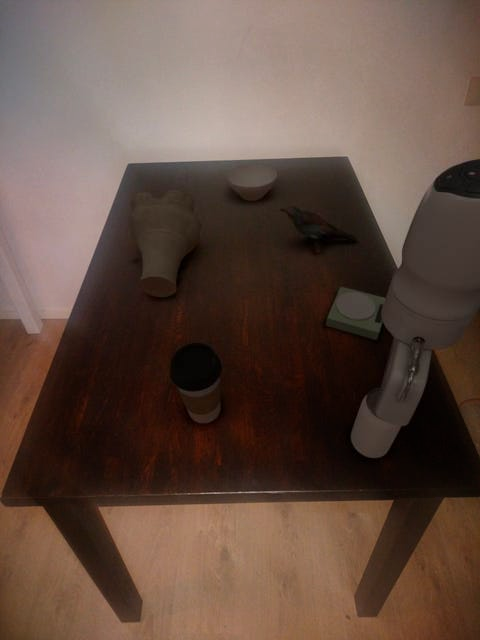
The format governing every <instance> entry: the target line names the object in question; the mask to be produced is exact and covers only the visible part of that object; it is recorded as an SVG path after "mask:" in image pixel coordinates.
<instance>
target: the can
mask: <svg viewBox="0 0 480 640" xmlns="http://www.w3.org/2000/svg"><path fill="white" fill-rule="evenodd" d="M380 389H381V387H377V388H374V389H372V390H370V391H369V392H368V393H367V394H366V395H365V396H364V397H363V399H362V401H361V403H360V406H359V409H358V411H357V415H356V417H355V420H354V423H353V426H352V429H351V433H350V441H351V443H352V446H353V448H354V450H356V451H357V452H358V453H359V454H361V455H362V456H364V457H366V458H371V459H378V458H382V457H384V456H385V455H386V454H387V453H388V452H389V450H390V448H392V445H393V443H394V441H395V440H396V437H397V435H398V434H399V432H400V430H401V428H402V426H399V425H396V424H393V423H390V422H387V421H385V420H382V419H380V418H379V417H377V415H376V414H375V409H376V404H377V400H378V396H379V393H380Z"/></svg>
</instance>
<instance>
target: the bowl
mask: <svg viewBox="0 0 480 640" xmlns="http://www.w3.org/2000/svg"><path fill="white" fill-rule="evenodd" d="M277 178H278V171H277V170H276V169H275V168H274V167H273V166H270V165H268V164H264V163H253V162H252V163H243V164H239V165H236V166H234V167H232V168H231V169H229V171H227V173H226V180H227V183H228V185H229V186H230V188H231V189H232V190H233V191H234V192H235V193H236V194H237V195H239V196H240V198H242V200H245V201H250V202H254V201H259V200H261V199H262V198H264V196H265V195H266V194H267V193H268V192H269V191H270V190H272V188H273V186H274V185H275V184H276V182H277Z"/></svg>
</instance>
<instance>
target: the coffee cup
mask: <svg viewBox="0 0 480 640" xmlns="http://www.w3.org/2000/svg"><path fill="white" fill-rule="evenodd" d="M222 366H223V365H222V363H221V360H220V357H219V356H218V354H217V353H216V351H215V350H214V349H213V348H212V347H211V346H210V345H209V344H205V343H203V342H192V343H191V342H190V343H189V344H188V343H187V344H185V345H183V346H182V347H180V348H179V349H177V351H176V352H175V353H174V354H173V356H172V358H171V362H170V367H169V376H170V379H171V381H172V383H173V385H175V387H176V390H177V392H178V394H179V396H180V398H181V400H182V402H183V404H184V406H185V408H186V410H187V413H188V414H189V416H190V418H191V419H192V420H193V421H194V422H195V423H197V424H209V423H211V422H213V421H215V420H216V419H217V418H218V417H219V414H220V412H221V392H222V391H221V389H222V388H221V387H222V386H221V385H222V383H221V382H222V381H221V380H222V377H221V376H222V375H221V374H222V370H223V369H222Z"/></svg>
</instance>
